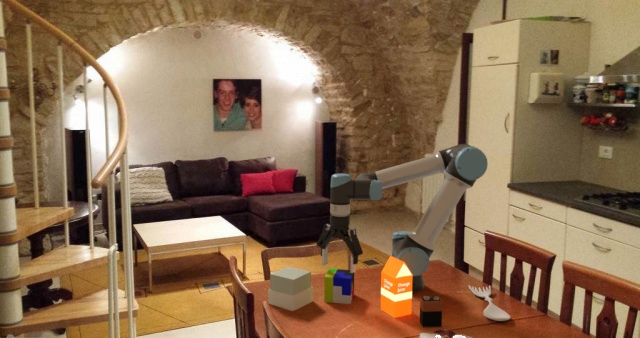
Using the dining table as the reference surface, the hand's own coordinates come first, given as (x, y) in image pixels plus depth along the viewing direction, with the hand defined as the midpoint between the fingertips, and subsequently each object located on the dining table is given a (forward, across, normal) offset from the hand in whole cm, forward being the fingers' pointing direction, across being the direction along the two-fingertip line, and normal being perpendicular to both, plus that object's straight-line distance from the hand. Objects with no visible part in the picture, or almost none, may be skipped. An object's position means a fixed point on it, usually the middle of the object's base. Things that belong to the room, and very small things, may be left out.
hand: (338, 268), depth 210 cm
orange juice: (+12, +24, +2) cm, 27 cm away
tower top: (+7, -12, -15) cm, 20 cm away
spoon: (+12, +50, +28) cm, 58 cm away
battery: (+12, +40, 0) cm, 41 cm away
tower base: (+13, -12, -15) cm, 23 cm away
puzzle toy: (+12, 0, 0) cm, 12 cm away
